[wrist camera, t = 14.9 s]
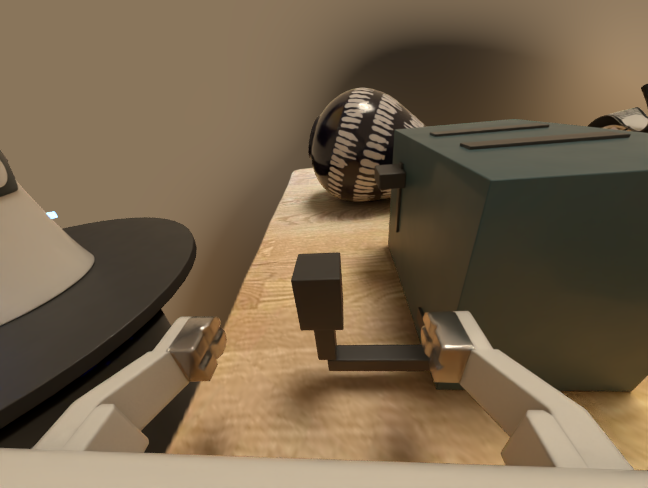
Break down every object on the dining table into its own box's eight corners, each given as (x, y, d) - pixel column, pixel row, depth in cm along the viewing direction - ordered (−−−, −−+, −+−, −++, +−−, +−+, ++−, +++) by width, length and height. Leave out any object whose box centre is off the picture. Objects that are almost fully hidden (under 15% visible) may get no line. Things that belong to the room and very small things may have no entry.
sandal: (591, 135, 56) (618, 195, 52) (556, 137, 55) (581, 198, 51) (695, 74, 41) (742, 152, 37) (650, 75, 40) (694, 155, 36)
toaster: (401, 397, 14) (431, 184, 7) (370, 246, 28) (371, 129, 22) (641, 401, 12) (907, 152, 6) (480, 241, 27) (515, 116, 20)
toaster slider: (310, 380, 13) (290, 280, 10) (313, 348, 15) (297, 253, 12) (436, 381, 13) (464, 275, 9) (425, 347, 14) (444, 247, 11)
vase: (313, 58, 28) (590, 117, 24) (337, 95, 43) (512, 134, 39) (288, 193, 34) (510, 257, 30) (316, 184, 48) (467, 226, 45)
